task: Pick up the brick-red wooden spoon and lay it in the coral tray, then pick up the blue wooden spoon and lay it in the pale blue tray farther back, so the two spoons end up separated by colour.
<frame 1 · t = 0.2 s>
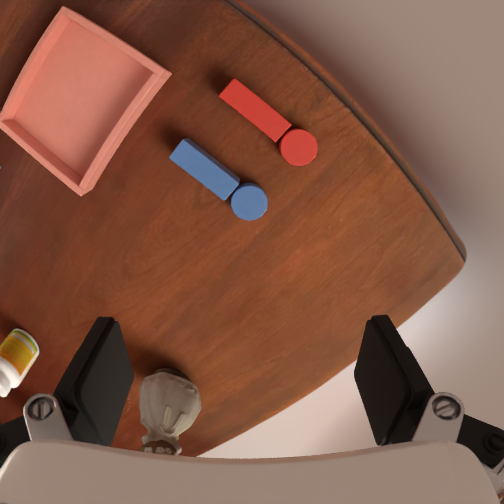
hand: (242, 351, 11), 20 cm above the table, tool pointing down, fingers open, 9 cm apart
blue spoon: (220, 176, 28), on the table
figurine: (174, 378, 39), on the table
red spoon: (267, 121, 26), on the table
red tray: (78, 96, 24), on the table
supplement bottle: (26, 341, 37), on the table
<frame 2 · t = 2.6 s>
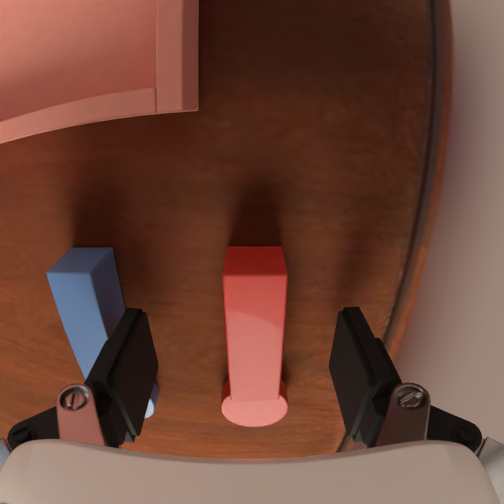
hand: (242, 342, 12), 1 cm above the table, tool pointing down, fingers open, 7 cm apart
blue spoon: (114, 335, 14), on the table
red spoon: (254, 341, 14), on the table
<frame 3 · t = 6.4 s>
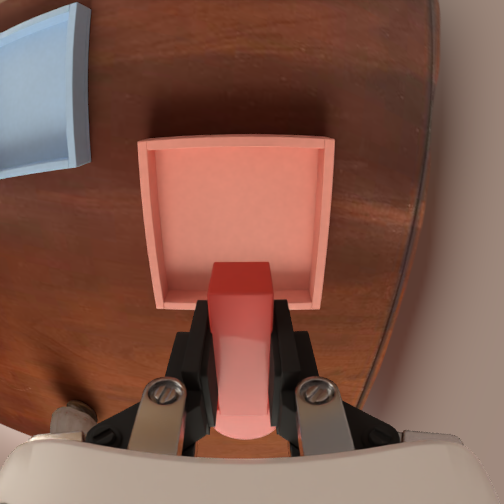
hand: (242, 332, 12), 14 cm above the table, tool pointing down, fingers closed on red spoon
blue tray: (26, 98, 20), on the table
figurine: (85, 410, 36), on the table
red spoon: (243, 355, 13), point 14 cm above the table, touching gripper
red tray: (236, 220, 25), on the table
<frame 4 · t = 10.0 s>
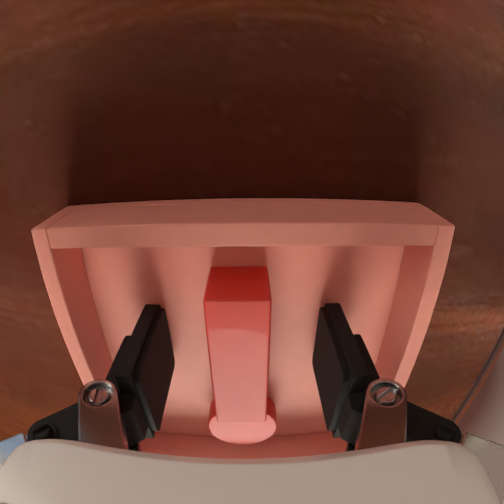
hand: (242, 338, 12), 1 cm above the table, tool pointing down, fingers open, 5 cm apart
red spoon: (241, 361, 13), point 1 cm above the table, touching red tray
red tray: (243, 351, 14), on the table
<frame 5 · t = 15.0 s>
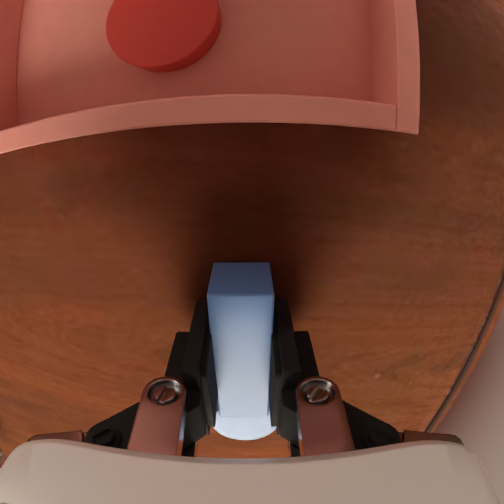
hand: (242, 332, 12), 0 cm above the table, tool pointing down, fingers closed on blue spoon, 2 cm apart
blue spoon: (243, 356, 13), on the table, touching gripper
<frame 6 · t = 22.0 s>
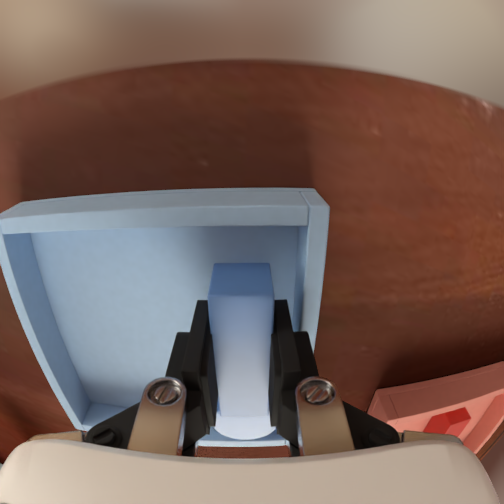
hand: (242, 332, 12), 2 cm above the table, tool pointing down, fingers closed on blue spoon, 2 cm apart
blue spoon: (243, 356, 13), point 2 cm above the table, touching gripper
blue tray: (165, 327, 15), on the table
red spoon: (428, 434, 20), point 1 cm above the table, touching red tray
red tray: (427, 429, 20), on the table
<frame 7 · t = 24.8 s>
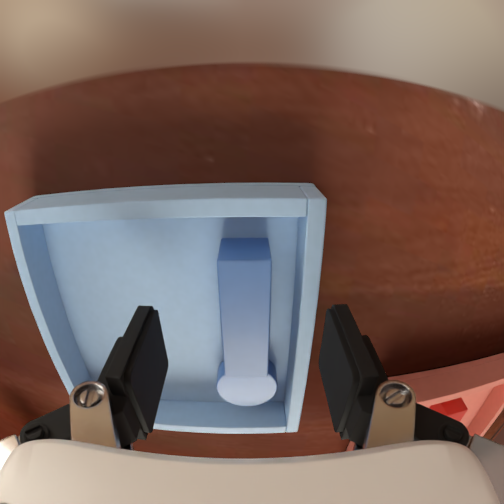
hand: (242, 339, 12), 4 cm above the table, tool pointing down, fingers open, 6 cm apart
blue spoon: (245, 324, 15), point 1 cm above the table, touching blue tray
blue tray: (171, 316, 16), on the table
red spoon: (426, 426, 20), point 1 cm above the table, touching red tray
red tray: (425, 421, 21), on the table
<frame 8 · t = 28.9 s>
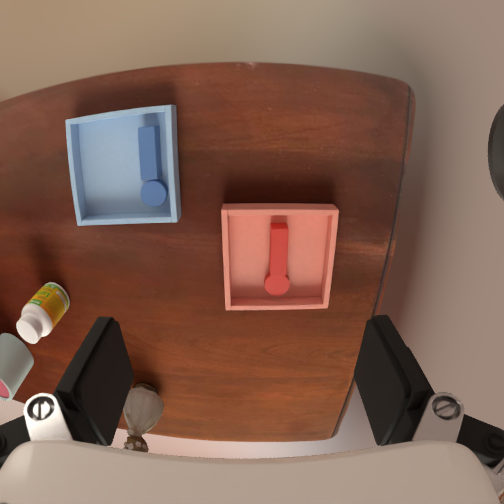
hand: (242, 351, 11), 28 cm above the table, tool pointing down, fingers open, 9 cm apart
blue spoon: (153, 163, 35), point 1 cm above the table, touching blue tray
blue tray: (125, 165, 36), on the table
figurine: (148, 391, 52), on the table
mug: (16, 356, 50), on the table
red spoon: (277, 256, 40), point 1 cm above the table, touching red tray
red tray: (277, 254, 41), on the table
supplement bottle: (57, 295, 44), on the table
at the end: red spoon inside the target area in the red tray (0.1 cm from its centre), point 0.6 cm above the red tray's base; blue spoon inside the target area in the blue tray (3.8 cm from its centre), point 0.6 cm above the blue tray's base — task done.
